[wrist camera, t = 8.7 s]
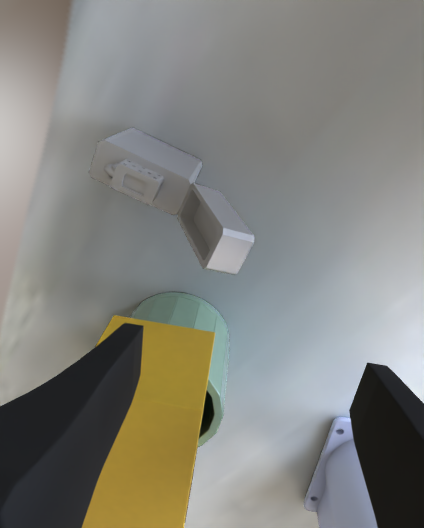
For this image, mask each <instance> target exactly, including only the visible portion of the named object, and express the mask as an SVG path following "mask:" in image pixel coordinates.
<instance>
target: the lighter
mask: <svg viewBox="0 0 424 528" xmlns="http://www.w3.org/2000/svg"><path fill="white" fill-rule="evenodd" d="M202 165H203V164H202V161H201V160H200V159H198V158H196V157H194V156H192V155H189V154H187V153H185V152H183V151H181V150H179V149H177V148H175V147H173V146H171V145H168V144H166V143H164V142H162V141H160V140H158V139H156V138H154V137H152V136H150V135H147V134H145V133H143V132H141V131H139V130H137V129H135V128H133V127H132V128H130V129H127V130H125V131H123V132H120V133H118V134H115V135H113V136H111V137H108V138H106V139H103V140H101V141H98V144H97V147H96V150H95V154H94V157H93V160H92V163H91V167H90V170H89V174H90V176H91V178H93V179H95V180H97V181H99V182H102V183H104V184H106V185H108V186H110V187H111V188H112V189H114V190H117V191H119V192H121V193H123V194H125V195H127V196H130V197H132V198H134V199H136V200H138V201H141V202H143V203H145V204H147V205H152V206H154V207H156V208H158V209H160V210H163V211H165V212H167V213H169V214H171V215H176V214H178V217H177V219H178V221H179V223H180V225H181V227H182V229H183V231H184V233H185V235H186V237H187V239H188V241H189V243H190V245H191V247H192V248H193V250H194V252H195V254H196V256H197V258H198V260H199V262H200V264H201V266H202V268H203V269H207V270H212V271H216V272H221V273H226V274H231V275H235V274H237V273H238V272H239V270H240V268H241V266H242V264H243V262H244V261H245V259H246V257H247V255H248V253H249V251H250V250H251V248H252V246H253V244H254V238H255V236H254V235H253V233H252V232H251V231H250V229H249V228H248V227H247V226H246V224H245V223H244V222H243V220H242V219H241V218H240V217H239V215H238V214H237V213H236V211H235V210H234V209H233V207H232V206H231V205H230V204H229V202H228V201H227V200H226V198H225V197H224V196H223V195H222V193H221V192H220V191H217V190H214V189H211V188H208V187H205V186H202V185H198V184H195V181H196V179H197V177H198V174H199V172H200V170H201V168H202Z"/></svg>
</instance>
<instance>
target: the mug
mask: <svg viewBox="0 0 424 528" xmlns="http://www.w3.org/2000/svg"><path fill="white" fill-rule="evenodd" d="M130 318H134V319H140V320H146V321H152V322H157V323H163V324H169V325H175V326H181V327H187V328H193V329H199V330H205V331H211V332H215V339H214V346H213V352H212V358H211V365H210V371H209V377H208V384H207V390H206V397H205V403H204V409H203V415H202V421H201V428H200V434H199V440H198V447H200V446H202V445H203V444H204V443H205V442H207V441H208V440H209V439H210V438H211V437H212V436H214V435H215V434H216V433H217V431H218V428H219V425H220V423H221V420H222V418H223V413H224V403H225V392H226V382H227V372H228V361H229V351H230V347H229V341H230V339H229V331H228V328H227V325H226V323H225V321H224V319H223V317H222V316H221V315H220V313H219V312H218V311H217V310H216V309H215V308H214V307H213V306H212V305H210V304H209V303H208V302H206V301H204V300H203V299H201V298H198V297H196V296H193V295H190V294H186V293H179V292H168V293H161V294H157V295H154V296H152V297H150V298H148V299H146V300H144V301H143V302H142V303H141V304H139V305H138V307H137V308H136V309H135V310H134V312H133V313H132V315H131V317H130Z"/></svg>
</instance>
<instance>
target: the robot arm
mask: <svg viewBox="0 0 424 528" xmlns="http://www.w3.org/2000/svg"><path fill="white" fill-rule="evenodd" d="M143 327H144V326H142V325H136V324H130V323H124V324H122V325H121V326H120V327H119V328H118V329H116V330H115V331H114V332H113V333H112V334H111V335H109V336H108V337H107V338H106V339H105V340H103V341H102V342H101V343H100V344H99V345H97V346H96V347H95V348H94V349H92V350H91V351H90V352H89V353H87V354H86V355H85V356H83V357H82V358H81V359H80V360H78V361H77V362H75V363H74V364H73V365H71V366H70V367H68V368H67V369H65V370H64V371H63V372H61V373H60V374H58V375H57V376H55V377H54V378H52V379H51V380H49V381H47V382H46V383H44V384H42V385H41V386H39V387H37V388H36V389H34V390H32V391H30V392H28V393H27V394H24V395H22V396H20V397H18V398H16V399H14V400H12V401H10V402H8V403H6V404H4V405H2V406H0V528H82V526H83V522H84V519H85V516H86V513H87V510H88V507H89V505H90V502H91V499H92V496H93V493H94V490H95V487H96V484H97V481H98V478H99V476H100V474H101V471H102V469H103V466H104V464H105V462H106V459H107V457H108V455H109V453H110V450H111V448H112V446H113V444H114V442H115V439H116V437H117V435H118V433H119V431H120V428H121V426H122V424H123V422H124V419H125V417H126V415H127V413H128V410H129V408H130V406H131V404H132V401H133V398H134V394H135V391H136V388H137V385H138V382H139V378H140V375H141V359H142V343H143ZM349 411H350V418H346V417H337V418H335V419H334V421H333V423H332V426H331V429H330V431H329V434H328V437H327V440H326V442H325V445H324V448H323V450H322V453H321V456H320V459H319V461H318V464H317V467H316V470H315V472H314V475H313V478H312V480H311V483H310V486H309V489H308V491H307V494H306V497H305V500H304V508H305V509H306V510H308V511H313V512H317V515H318V522H319V528H424V403H423V402H422V401H421V400H420V399H419V398H418V397H417V396H416V395H415V394H414V393H413V392H412V391H411V390H410V389H409V388H408V387H407V386H406V385H405V384H404V383H403V382H402V380H401V379H400V378H399V377H398V376H397V375H396V374H395V373H394V372H393V371H392V370H391V369H390V368H388V367H387V366H384V365H378V364H372V363H367V365H366V368H365V370H364V373H363V376H362V378H361V381H360V384H359V386H358V389H357V392H356V394H355V397H354V400H353V402H352V405H351V408H350V410H349ZM337 429H341V430H337Z"/></svg>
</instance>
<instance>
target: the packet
mask: <svg viewBox="0 0 424 528" xmlns="http://www.w3.org/2000/svg"><path fill="white" fill-rule="evenodd" d="M124 323H130V324H136V325H142V326H144V327H143V343H142V359H141V375H140V378H139V382H138V385H137V388H136V391H135V394H134V398H133V401H132V404H131V406H130V408H129V410H128V413H127V415H126V417H125V419H124V422H123V424H122V426H121V428H120V431H119V433H118V435H117V437H116V439H115V442H114V444H113V446H112V448H111V450H110V453H109V455H108V457H107V459H106V462H105V464H104V466H103V469H102V471H101V474H100V476H99V478H98V481H97V484H96V487H95V490H94V493H93V496H92V499H91V502H90V505H89V507H88V510H87V513H86V516H85V519H84V522H83V526H82V528H184V523H185V520H186V514H187V508H188V502H189V496H190V490H191V484H192V478H193V472H194V466H195V459H196V453H197V447H198V440H199V434H200V428H201V421H202V415H203V409H204V403H205V397H206V390H207V384H208V377H209V371H210V365H211V358H212V352H213V346H214V339H215V332H211V331H205V330H199V329H193V328H187V327H181V326H175V325H169V324H163V323H157V322H152V321H146V320H140V319H134V318H128V317H122V316H116V315H114V316H113V317H112V319H111V321H110V322H109V324H108V326H107V328H106V329H105V331H104V333H103V334H102V336H101V338H100V339H99V341H98V343H97V344H96V346H97V345H99V344H100V343H101V342H102V341H103V340H105V339H106V338H107V337H108V336H109V335H111V334H112V333H113V332H114V331H115V330H116V329H118V328H119V327H120V326H121V325H122V324H124ZM96 346H95V347H96Z"/></svg>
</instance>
